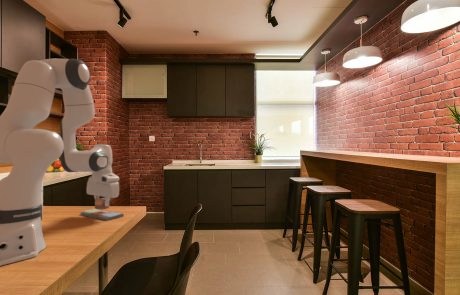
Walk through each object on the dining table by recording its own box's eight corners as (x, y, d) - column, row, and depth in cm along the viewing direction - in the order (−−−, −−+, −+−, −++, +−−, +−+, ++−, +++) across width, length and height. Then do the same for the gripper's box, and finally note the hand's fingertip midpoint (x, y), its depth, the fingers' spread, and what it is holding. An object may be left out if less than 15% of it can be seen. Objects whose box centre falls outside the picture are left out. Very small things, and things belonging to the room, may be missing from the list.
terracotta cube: (100, 209, 123) (101, 200, 123) (94, 208, 125) (95, 199, 125) (109, 208, 127) (109, 198, 127) (103, 206, 129) (103, 197, 129)
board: (107, 220, 117) (107, 217, 117) (80, 214, 127) (80, 211, 127) (123, 216, 125) (123, 213, 125) (97, 210, 135) (97, 208, 135)
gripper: (83, 176, 128) (82, 203, 128) (110, 178, 119) (109, 208, 119) (95, 175, 134) (94, 201, 134) (121, 177, 124) (121, 206, 124)
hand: (102, 205), depth 126 cm, fingers closed on terracotta cube, 4 cm apart
